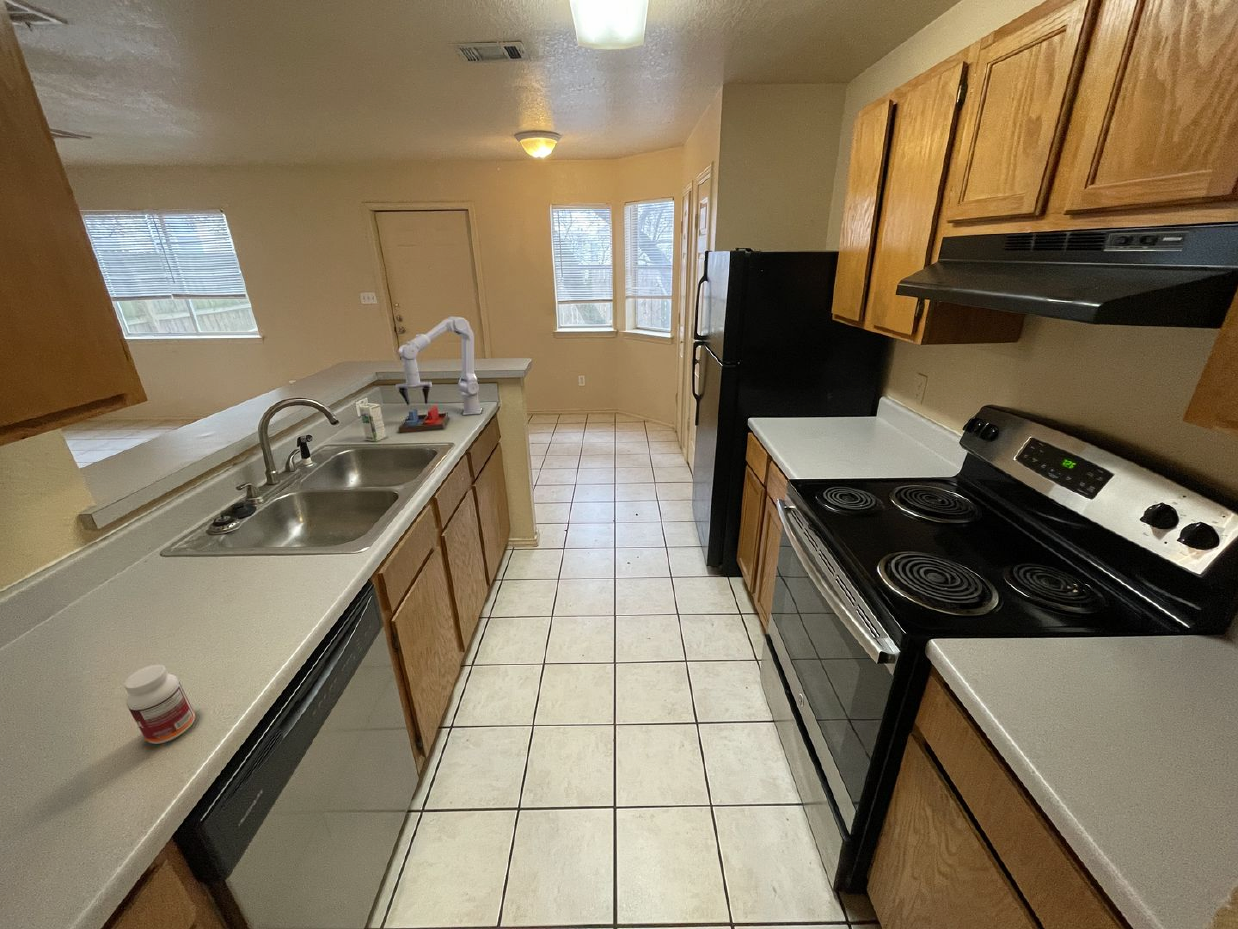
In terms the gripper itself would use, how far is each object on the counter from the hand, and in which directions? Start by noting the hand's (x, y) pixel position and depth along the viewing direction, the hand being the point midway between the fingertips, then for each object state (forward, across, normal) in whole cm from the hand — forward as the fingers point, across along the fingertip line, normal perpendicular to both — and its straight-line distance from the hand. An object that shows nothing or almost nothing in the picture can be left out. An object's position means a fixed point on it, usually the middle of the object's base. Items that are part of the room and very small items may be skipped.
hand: (417, 403), depth 222 cm
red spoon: (+9, +5, -1) cm, 10 cm away
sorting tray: (+9, +2, -2) cm, 10 cm away
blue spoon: (+8, -2, -4) cm, 9 cm away
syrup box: (+10, -15, -16) cm, 24 cm away
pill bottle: (+9, -9, -158) cm, 159 cm away
